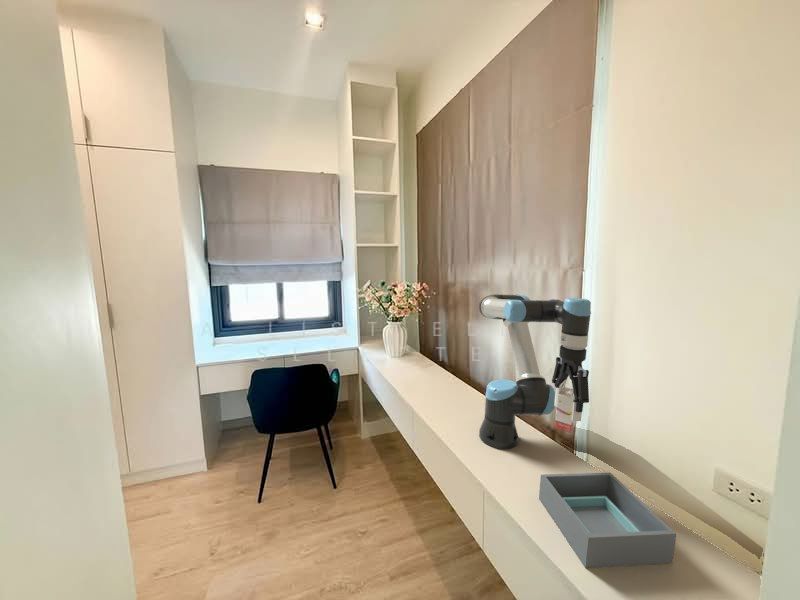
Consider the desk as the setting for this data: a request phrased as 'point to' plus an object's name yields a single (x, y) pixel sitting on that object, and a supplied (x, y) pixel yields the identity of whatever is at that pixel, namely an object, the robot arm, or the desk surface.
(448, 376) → the desk surface
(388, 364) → the desk surface
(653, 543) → the grey square tray
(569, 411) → the ink cartridge box
